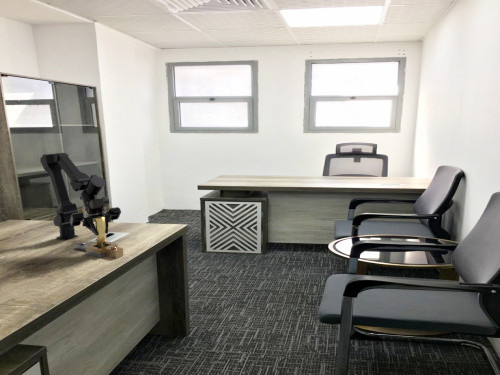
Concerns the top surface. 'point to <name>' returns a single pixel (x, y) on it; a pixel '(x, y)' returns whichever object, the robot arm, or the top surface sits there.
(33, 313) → the top surface
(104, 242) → the brass pin
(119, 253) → the square frame with handle
